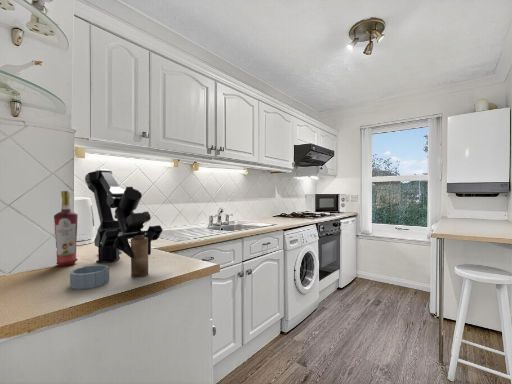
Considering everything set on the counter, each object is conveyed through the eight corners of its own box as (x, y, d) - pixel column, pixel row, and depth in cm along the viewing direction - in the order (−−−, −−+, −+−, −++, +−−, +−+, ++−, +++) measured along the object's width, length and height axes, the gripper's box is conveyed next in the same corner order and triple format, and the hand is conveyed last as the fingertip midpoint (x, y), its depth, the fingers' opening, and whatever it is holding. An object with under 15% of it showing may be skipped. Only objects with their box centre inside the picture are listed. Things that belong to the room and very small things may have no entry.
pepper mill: (128, 278, 84) (127, 237, 84) (135, 272, 90) (134, 234, 90) (145, 277, 85) (144, 237, 85) (150, 272, 90) (150, 234, 90)
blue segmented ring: (62, 290, 74) (62, 275, 74) (83, 278, 84) (83, 265, 84) (98, 289, 75) (97, 274, 75) (114, 277, 85) (114, 264, 85)
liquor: (79, 261, 105) (78, 190, 105) (76, 265, 99) (75, 191, 99) (57, 263, 102) (55, 191, 102) (52, 268, 96) (51, 191, 95)
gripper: (103, 205, 83) (117, 245, 75) (159, 203, 97) (176, 236, 89) (95, 228, 88) (108, 267, 81) (149, 222, 102) (164, 256, 95)
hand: (141, 255), depth 86 cm, fingers closed on pepper mill, 5 cm apart
